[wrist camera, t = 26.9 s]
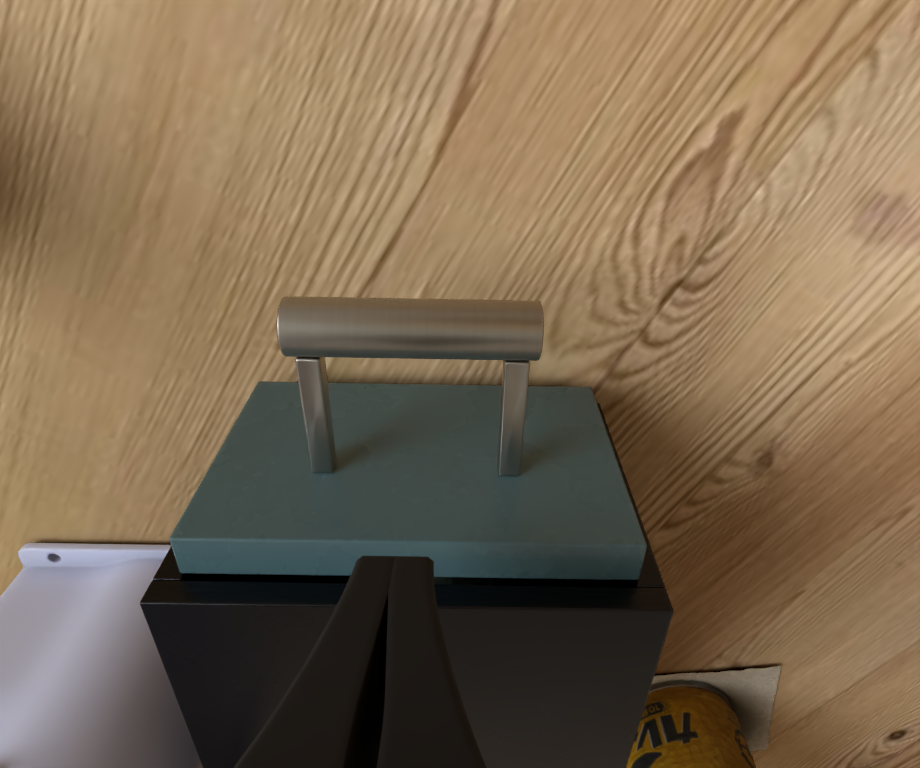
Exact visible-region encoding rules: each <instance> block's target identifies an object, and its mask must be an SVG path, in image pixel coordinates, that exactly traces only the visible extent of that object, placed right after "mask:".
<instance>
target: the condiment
mask: <svg viewBox="0 0 920 768" xmlns="http://www.w3.org/2000/svg"><path fill="white" fill-rule="evenodd" d="M780 671H781V666H776V667H769V668H761V669H760V668H751V669H745V670H742V671H722V672H717V673H714V672H708V673H680V674H670V675H658V676H654V678H653V681H652V684H651V688H650V691H649V694H648V697H647V701H646V704H645V707H644V711H643V714H642V717H641V721H640V724H639V727H638V730H637V734H636V737H635V740H634V744H633V747H632V750H631V754H630V757H629V760H628V763H627V767H626V768H756V765H755V763H754V759H753V756H752V755H751V753H750V752H752V751H760V750H768V743H769V737H768V736H769V730H770V725H771V716H772V711H773V706H774V701H773V699H774V698H775V696H776V691H777V683H778V679H779V676H780Z"/></svg>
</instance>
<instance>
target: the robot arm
mask: <svg viewBox="0 0 920 768" xmlns="http://www.w3.org/2000/svg"><path fill="white" fill-rule="evenodd" d="M170 547H171V545H147V544H81V543H27V544H25V545H23V547H22V548H21V549H20V550H19V552H18V556H19V558H20V560H21V562H22V564H23V566H24V568H23V569H22V570H21V572H20V573H19V574H18V575H17V576H16V578H15V579H14V580H13V581H12V583H11V584H10V585H9V586H8V588H7V589H6V590H5V591H4V593H3V594H2V595H1V596H0V768H203V766H202V764H201V761H200V759H199V756H198V753H197V751H196V748H195V746H194V743H193V740H192V738H191V735H190V733H189V730H188V728H187V725H186V722H185V720H184V717H183V715H182V712H181V710H180V707H179V704H178V702H177V699H176V697H175V694H174V691H173V689H172V686H171V684H170V681H169V679H168V676H167V673H166V671H165V668H164V666H163V663H162V660H161V658H160V655H159V653H158V650H157V648H156V645H155V642H154V640H153V637H152V635H151V632H150V630H149V627H148V624H147V622H146V619H145V617H144V614H143V611H142V609H141V606H140V601H141V599H142V597H143V596H144V594H145V592H146V590H147V589H148V587H149V585H150V583H151V581H153V578H154V576H155V574H156V572H157V570H158V569H159V567H160V565H161V563H162V561H163V560H164V558H165V556H166V554H167V553H168V551H169V549H170ZM234 768H486V765H485V763H484V760H483V758H482V755H481V753H480V750H479V747H478V745H477V742H476V739H475V737H474V734H473V731H472V729H471V726H470V723H469V720H468V717H467V714H466V711H465V708H464V705H463V702H462V699H461V696H460V693H459V690H458V687H457V684H456V680H455V677H454V674H453V671H452V667H451V663H450V659H449V656H448V652H447V648H446V644H445V641H444V637H443V632H442V628H441V623H440V618H439V613H438V608H437V602H436V595H435V587H434V561H433V560H431V559H430V558H429V557H418V556H361V557H360V558H359V559H357V561H356V563H355V566H354V569H353V571H352V574H351V576H350V578H349V580H348V583H347V585H346V587H345V589H344V591H343V593H342V595H341V597H340V600H339V602H338V604H337V605H336V607H335V609H334V611H333V613H332V615H331V617H330V619H329V621H328V623H327V625H326V626H325V628H324V630H323V632H322V633H321V635H320V637H319V639H318V641H317V642H316V644H315V646H314V648H313V649H312V651H311V653H310V655H309V656H308V658H307V660H306V661H305V663H304V665H303V666H302V668H301V670H300V671H299V673H298V674H297V676H296V678H295V679H294V681H293V682H292V684H291V685H290V687H289V689H288V690H287V692H286V693H285V695H284V696H283V698H282V699H281V701H280V703H279V704H278V706H277V707H276V709H275V710H274V712H273V713H272V715H271V716H270V718H269V719H268V721H267V722H266V724H265V725H264V726H263V728H262V729H261V731H260V732H259V734H258V735H257V736H256V738H255V739H254V741H253V742H252V743H251V745H250V746H249V747H248V749H247V750H246V752H245V753H244V754H243V756H242V757H241V758H240V760H239V761H238V762H237V764H236V765H235V767H234Z"/></svg>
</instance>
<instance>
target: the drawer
mask: <svg viewBox="0 0 920 768" xmlns="http://www.w3.org/2000/svg"><path fill="white" fill-rule="evenodd" d="M543 334H544V317H543V307H542V304H541V302H540V301H515V300H457V299H399V298H341V297H284V298H283V299H282V300H281V302H280V305H279V308H278V313H277V338H278V343H279V347H280V350H281V352H282V354H283V355H285V356H293V357H296V360H295V362H296V369H297V376H298V382H258V384H257V385H256V387H255V389H254V391H253V392H252V394H251V396H250V398H249V399H248V401H247V403H246V405H245V406H244V408H243V410H242V412H241V413H240V415H239V417H238V419H237V420H236V422H235V424H234V426H233V427H232V429H231V431H230V433H229V435H228V436H227V438H226V440H225V442H224V443H223V445H222V447H221V449H220V450H219V452H218V454H217V456H216V457H215V459H214V461H213V463H212V464H211V466H210V468H209V470H208V471H207V473H206V475H205V477H204V478H203V480H202V482H201V484H200V486H199V487H198V489H197V491H196V493H195V494H194V496H193V498H192V500H191V501H190V503H189V505H188V507H187V508H186V510H185V512H184V514H183V515H182V517H181V519H180V521H179V522H178V524H177V526H176V528H175V529H174V531H173V533H172V535H171V536H170V543H171V546H172V549H173V553H174V556H175V559H176V562H177V565H178V568H179V571H180V573H194V574H229V575H228V578H227V580H226V581H240V582H307V583H348V580H349V576H351V574H352V571H353V569H354V566H355V563H356V561H357V559H359V558H360V557H361V556H418V557H429V558H430V559H431V560H433V561H434V577H462V578H493V585H509V586H576V587H601V586H600V582H599V580H638V579H639V577H640V573H641V568H642V564H643V560H644V556H645V552H646V548H647V545H646V542H645V539H644V536H643V533H642V530H641V528H640V525H639V522H638V519H637V516H636V513H635V511H634V508H633V505H632V502H631V499H630V496H629V493H628V491H627V488H626V485H625V482H624V479H623V476H622V474H621V471H620V468H619V465H618V462H617V459H616V456H615V454H614V451H613V448H612V445H611V442H610V439H609V437H608V434H607V431H606V428H605V425H604V422H603V419H602V417H601V414H600V411H599V408H598V405H597V402H596V400H595V397H594V394H593V391H592V388H591V387H558V386H528V378H529V366H530V363H529V360H532V361H537V360H539V359H540V356H541V353H542V347H543ZM325 357H353V358H413V359H472V360H503V371H502V386H497V385H437V384H376V383H328V381H327V372H326V364H325Z"/></svg>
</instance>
